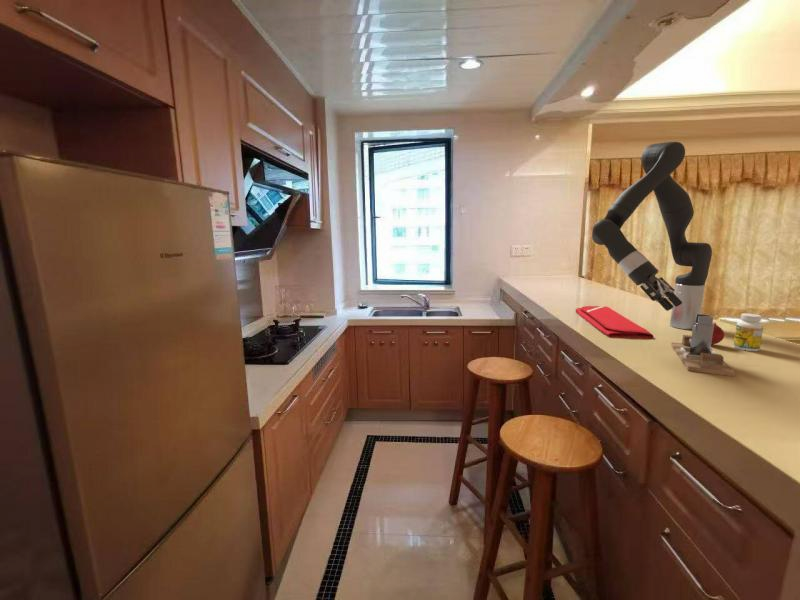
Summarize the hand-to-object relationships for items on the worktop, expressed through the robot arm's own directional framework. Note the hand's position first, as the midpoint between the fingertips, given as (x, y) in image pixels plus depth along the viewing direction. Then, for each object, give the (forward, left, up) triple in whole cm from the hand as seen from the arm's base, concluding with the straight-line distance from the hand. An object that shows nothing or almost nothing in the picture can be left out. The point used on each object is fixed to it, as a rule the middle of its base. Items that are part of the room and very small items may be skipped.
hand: (675, 307), depth 114 cm
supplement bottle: (-15, +23, -15) cm, 31 cm away
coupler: (+3, +7, -14) cm, 16 cm away
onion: (-15, +14, -15) cm, 25 cm away
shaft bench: (+3, +7, -15) cm, 17 cm away
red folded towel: (-34, -16, -16) cm, 40 cm away
